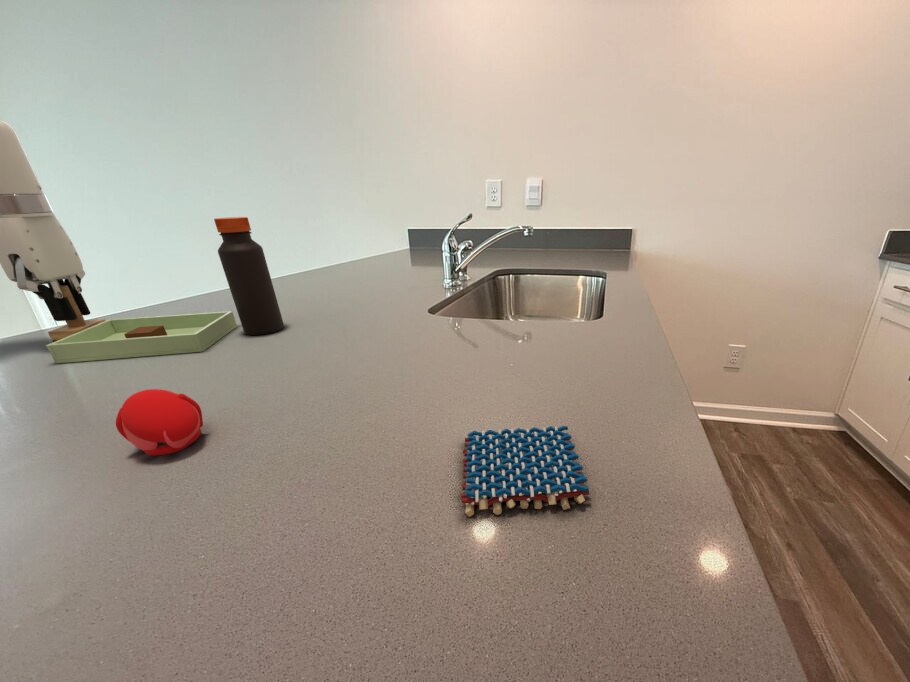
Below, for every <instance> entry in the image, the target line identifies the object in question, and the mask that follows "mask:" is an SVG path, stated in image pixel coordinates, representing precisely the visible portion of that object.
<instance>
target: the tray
mask: <svg viewBox="0 0 910 682" xmlns="http://www.w3.org/2000/svg"><path fill="white" fill-rule="evenodd" d="M161 325H163V326H164V328H165V331H166V333H167V335H166V336H153V337H139V338H126V337H125V335H124V334H125V333H127V332H130V331H132V330H134V329H136V328H138V327H147V326H161ZM237 327H238V324H237V321H236V319H235V315H234V312H233V311H232V310H231V311H215V312H202V313H201V312H199V313H185V314H171V315H156V316H143V317H141V316H140V317H127V318H112V319H111V318H110V319H107V320H105V321H104V322H102V323H99V324H97V325H94V326H92V327H90V328H87V329H85V330H82V331H80V332H77V333H75V334H73V335H70V336H68V337H65V338H63V339H60V340H58V341H56V342H53V341H52V342H50V343H48V344H46V345H45V346H46V348H47V350H48V352H49V354H50V355H51V357H52V359H53V361H54V362H55V364H68V363H79V362H81V363H82V362H89V361H90V362H92V361H94V362H95V361H103V360H116V359H128V358H130V359H131V358H143V357H153V356H165V355H178V354H179V355H180V354H190V353H191V354H192V353H202V352H204V351H206V350H207V349H208V348H210V347H211V346H212V345H214V344H215V343H216V342H218V341H219V340H221V339H222V338H223V337H225V336H226V335H228V334H229V333H231V332H232V331H233V330H235V329H236V328H237Z"/></svg>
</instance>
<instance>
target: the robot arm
mask: <svg viewBox="0 0 910 682" xmlns="http://www.w3.org/2000/svg"><path fill="white" fill-rule="evenodd" d="M19 138H20V137H19V136H18V134H17V133H16V131H15V129H14V128H13V126H11V124H9V123H8V122H6V121H4V120H2V119H0V266H1V268H2V270H3V272H4V274H5V275H6V277H7V279H9V281H12V282H14V283H16V285H17V288H18V289H19V290H22V291H27V292H31V293H32V294H35V295H37V297H38V299H39V300H43V301H44V304H45V305H46V307H47V309H48V310H49V312H50V315H51V316H52V318H53V320H54V321H55V322H66V321H68V320H75V319H77V316H76V314H75V312H74V310H73V308H72V306H71V304H70V302H69V300H68V298H67V297H63V295H62V292H61V290H60V288H59V286H62V285H67V286H68V287H69V289H70V292H71V294H72V296H73V298H74V300H75V302H76V304H77V306H78V308H79V310H80V312H81V314H82V316H89V315H91V310H90V308H89V307H88V305H87V302H86V300H85V298H84V296H83V295H82V292H83V288H82V286H81V282H82V279H83V278H84V277H85V275H86V271H85V270H84V266H83V263H82V259H81V257H80V255H79V253H78V252H77V251H78V250H77V249H76V247H75V246H74V244H73V242H72V240H71V238H70V236H69V234H68V233H67V231H66V230H65V228H64V226H63V225H62V223H61V222H60V220H59V219H58V217H57V216H56V214H55V212H54V210H53V208H52V206H51V203H50V202H49V200H48V197H47V195H46V194H45V191H44V190H43V188H42V185H41V182H40V181H39V178H38V176H37V174H36V172H35V170H34V168H33V166H32V164H31V161H30V159H29V158H28V155H27V153H26V151H25V149H24V146H23V145H22V143H21V140H20V139H19Z"/></svg>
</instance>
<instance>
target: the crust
mask: <svg viewBox="0 0 910 682" xmlns="http://www.w3.org/2000/svg"><path fill="white" fill-rule="evenodd" d="M124 335H125V337H126V338H139V337H153V336H166V335H167V333H166V331H165V328H164V326H163V325H161V326H147V327H138V328H136V329H134V330H132V331H130V332H127V333H125V334H124Z"/></svg>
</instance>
